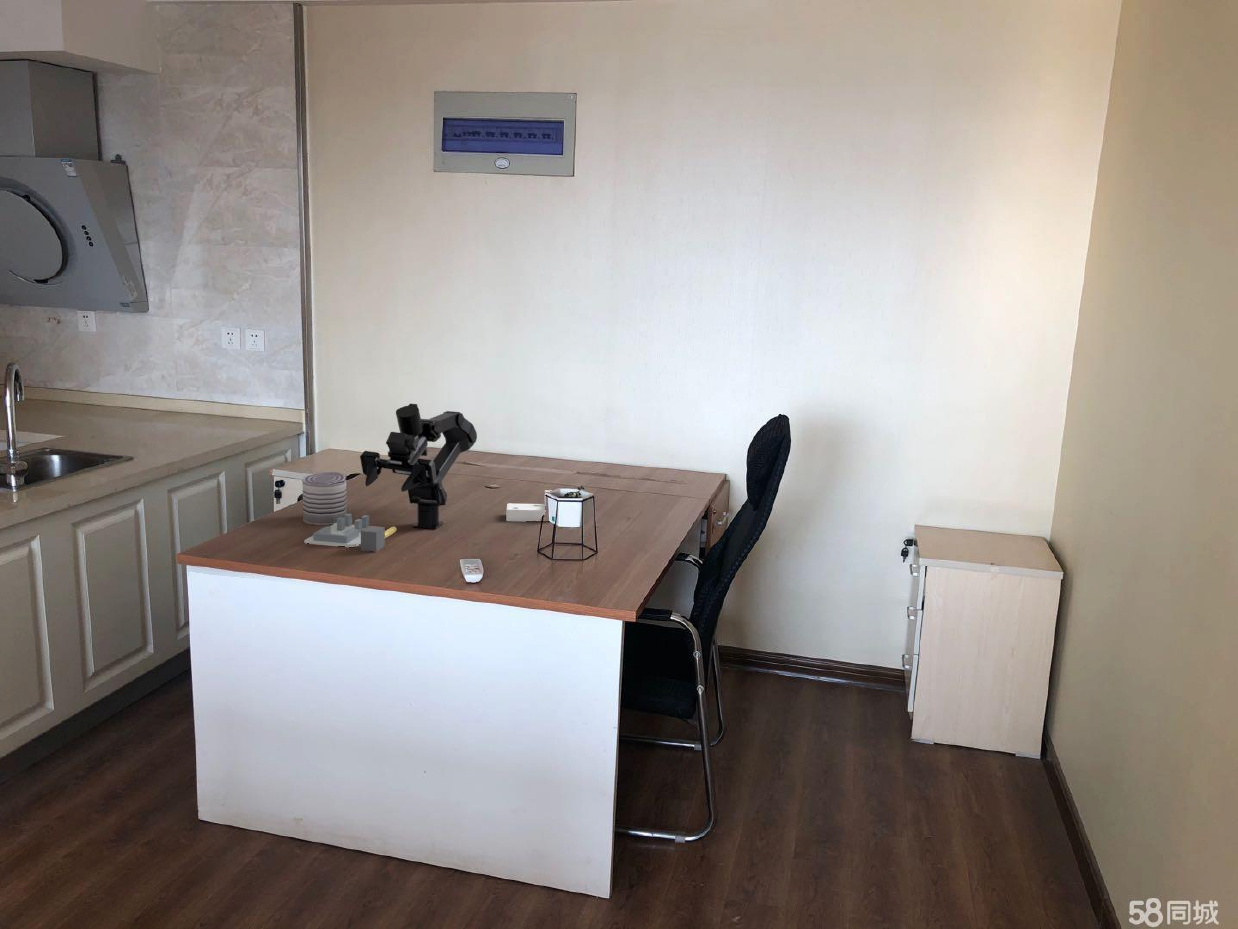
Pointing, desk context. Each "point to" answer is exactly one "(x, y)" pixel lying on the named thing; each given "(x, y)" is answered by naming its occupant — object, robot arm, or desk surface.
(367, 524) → the board
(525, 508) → the bracket
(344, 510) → the can
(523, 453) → the desk surface
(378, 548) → the plug
